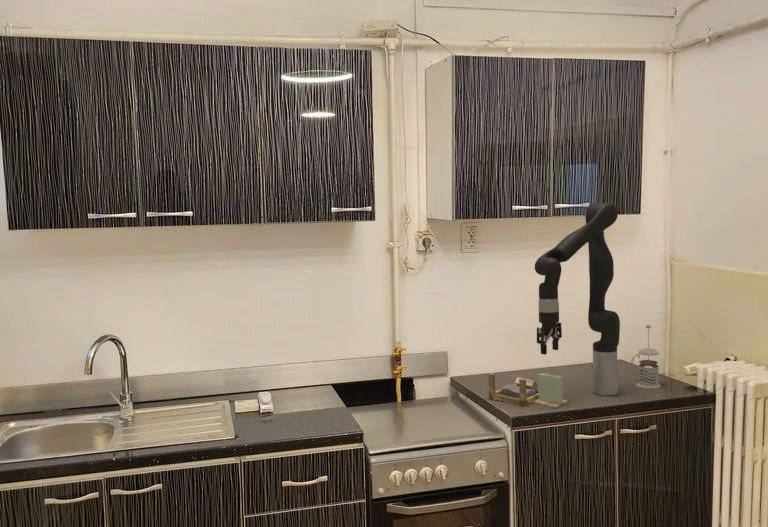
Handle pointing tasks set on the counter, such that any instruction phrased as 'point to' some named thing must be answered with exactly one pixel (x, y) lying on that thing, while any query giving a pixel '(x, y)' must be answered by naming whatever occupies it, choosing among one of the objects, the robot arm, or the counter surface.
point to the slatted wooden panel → (549, 403)
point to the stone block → (516, 391)
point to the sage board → (550, 388)
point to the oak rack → (520, 401)
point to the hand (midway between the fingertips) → (549, 352)
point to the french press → (643, 379)
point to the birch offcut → (529, 384)
